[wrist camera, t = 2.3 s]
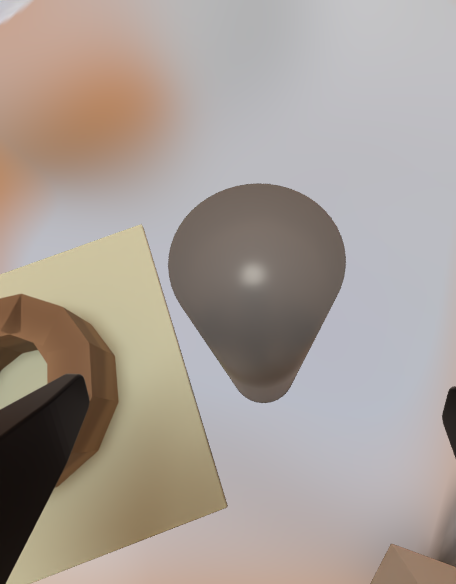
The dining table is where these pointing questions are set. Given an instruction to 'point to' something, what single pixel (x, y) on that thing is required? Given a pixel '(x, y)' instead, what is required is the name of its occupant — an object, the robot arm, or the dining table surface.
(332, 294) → the grey rounded peg
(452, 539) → the dining table surface
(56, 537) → the mat
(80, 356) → the bead
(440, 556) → the dining table surface
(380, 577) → the die
